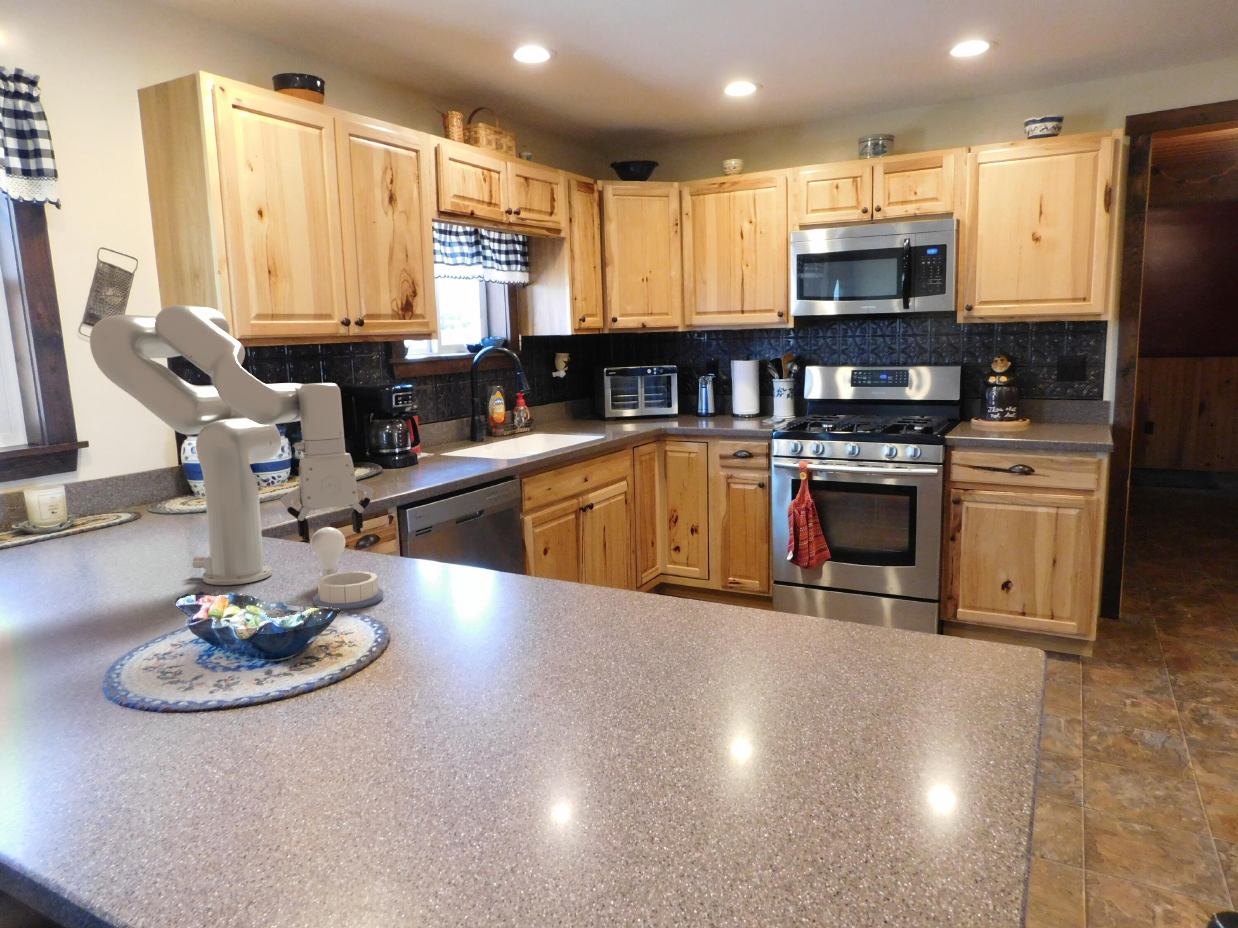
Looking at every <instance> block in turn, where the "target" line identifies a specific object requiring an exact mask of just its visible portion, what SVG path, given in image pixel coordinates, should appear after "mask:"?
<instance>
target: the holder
mask: <svg viewBox="0 0 1238 928" xmlns="http://www.w3.org/2000/svg"><path fill="white" fill-rule="evenodd" d="M378 581H379V579H378V575H377V574H376V573H375V572H371V571H359V570H358V571H356V570H352V571H351V570H350V571H341V572H337V573H334V574H330V575H327V576H323V575H322V577H320V578H319V579H318V580H317V591H318V593H316V594H315V595H314V596H313V602H312V603H313V606H325V607H332V608H339V609H340V610H339V611H350V610H359V609H364V608H368V607H370V606H374V605H376V604H378V603H380V602H382V600H383V599H384V590H383V589H381V588H380V587H379V582H378Z"/></svg>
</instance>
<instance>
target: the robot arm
mask: <svg viewBox="0 0 1238 928" xmlns="http://www.w3.org/2000/svg"><path fill="white" fill-rule="evenodd" d="M89 346H90V351H91V355H92V358H93V359H94V362H95V364H96V366H97V367H98V369H99V370H100V372H101V373H102V374H103V375H104V376H105V377H106V378H107V379H108V380H109V381H110V382H112V383H113V384H114V385H115V386H117V387H118V388H119V389H121V390H122V391H124V392H125V393H127V394H128V395H129V396H131V397H132V398H133V399H135V400H136V401H137V402H139V403H140V404H141V405H142V406H143V407H145V408H146V409H147V410H148V411H149V412H150V413H152V414H153V415H154V416H156V417H157V418H159V419H160V420H161V421H162V422H163V423H165V424H166V425H167V426H169V427H170V428H171V429H173V430H174V431H175V432H177V433H179V434H181V435H197V438H196V441H195V450H196V455H197V459H198V462H199V465H200V469H201V472H202V477H203V486H204V495H205V496H204V498H205V506H206V520H207V533H208V534H207V535H208V546H209V555H208V556H194V558H193V559H192V560H193V562H192V568H194V569H201V568H202V569H204V570H205V572H204V573H203V574H202V581H203V582H204V583H205V584H208V585H212V586H232V585H233V586H234V585H244V584H248V583H254V582H259V581H262V580H264V579H266V578H267V579H268V578H269V577H270V576H272V574H273V567H271V566H270V565H267V564H265V563H264V555H263V554H264V553H263V551H264V550H263V537H262V524H261V523H262V522H261V520H262V519H261V509H260V508H261V507H260V495H259V492H260V491H259V485H258V481H257V479H256V477H255V475H254V472H253V470H252V468H251V465H252V464H258V463H262V462H266V461H268V460H271V459H272V458H273V457H275V455H277V453H278V452H279V450H280V448H281V445H282V437H281V434H280V431H279V429H278V427H277V425H278V424H287V423H293V422H300V427H301V438H302V440H301V442H300V443H297V444H294V451H295V452H300V453H302V454H303V456H300V458H299V464H298V465H299V468H298V487H297V488H295V489H293V490H291V492H289V493H287V494H286V495H284V496H282V497H281V498H280V499H279V502H280V504H281V505H282V506H283V508H284V510H285V511H286V513H289V514H290V515H291V516H292V517H294V518H295V519H296V521H297V528H298V529H297V531H298V537H300V538H302V541H305V542H308V541H310V531H309V521H308V520H307V519H306V518H307V516H308V514H309V513H310V512H311V511H315V510H317V511H318V510H325V509H332V508H342V507H348V506H349V507H351V508H352V511H351V521H352V524H351V525H352V531H353V532H354V533H356V534H361V533H362V529H363V528H364V523H363V513H364V511H365V509H366V508H367V507H368V505H370V503H371V499H372V497H373V496H374V492H375V489H374V488H373V487H371V486H368V485H365V484H362V483H360V482H357V478H356V472H355V467H354V462H353V458H352V456H351V453H349V452H346V443H345V430H344V420H343V419H344V417H343V407H342V406H343V405H342V404H343V403H342V395H341V389H340V387H339V386H338V384H337V383H333V382H317V383H316V382H315V383H298V382H297V383H296V382H283V383H279V382H278V383H264V382H262V381H261V380H259V379H257V378H256V377H255V376H254V375H252V374H251V373H249V372H248V371H247V370H246V369H245V368H244V367H242V365H243V363H244V360H245V355H246V350H245V347H244V345H243V344H242V343H241V342H240V341H238V340H237V339H236V338H234V337H232V336H231V335H230V326H229V323H228V320H227V319H226V317H225V316H224V315H223V314H222V313H221V312H219V311H218V310H216V309H215V308H212V307H207V306H202V305H201V306H198V305H187V304H175V305H169V306H167V307H165V308H163V309H162V310H161V311H159V313H157V314H156V315H155V316H153V315H135V314H117V315H111V316H106V317H103V318H102V319H100V320H98V321H97V322H96V323H95V324H94V325H93V326H92V328H91V331H90V334H89ZM180 356H182V357H183V358H185V359H186V360H187V361H189V362H190V363H191V364H193V365H194V366H195V367H196V368H198V369H200V371H202V372H203V373H205V375H206V374H207V376H209V377H210V378H211V383H212V385H211V384H210V385H195V384H191V383H189V382H187V381H186V380H184V379H182V377H180V376H179V375H177V374H176V373H175V372H174V371H172V369H170V368H169V367H167V366H165V365H163V364H161V363H159V362H157V361H155V360H153V359H167V358H175V357H180ZM276 424H277V425H276ZM358 490H359V491H362V492H363V493H364V495H363V497H362V498H361V499H360V500H359V491H358ZM298 497H299V503H300V507H299V508H298V509H296V508H294V506H293V505H292V504H291V502H292V501H293V500H295V499H297V498H298Z"/></svg>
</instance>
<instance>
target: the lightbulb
mask: <svg viewBox="0 0 1238 928" xmlns="http://www.w3.org/2000/svg"><path fill="white" fill-rule="evenodd" d="M345 548H346V538H345V535H344V534H343V533H342V532H341V530H339V529H338V528H336V527H331V526H325V527H321V528H320V529H318V530H317V531H315V532H314V534H313V535H312V537H311V540H310V549H311V552H312V553H313V555H314V556H315V557H316V558H317V560H318V561H319V562H318V563H319V564H320V565H319V566H320V568H321V571H322V577H323V576H327V575H330V574H334V573H338V572H337V570H338V568H337V567H338V566H339V562H340V561H339V560H340V557H341V556H342V554H343V553H344V551H345Z"/></svg>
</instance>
